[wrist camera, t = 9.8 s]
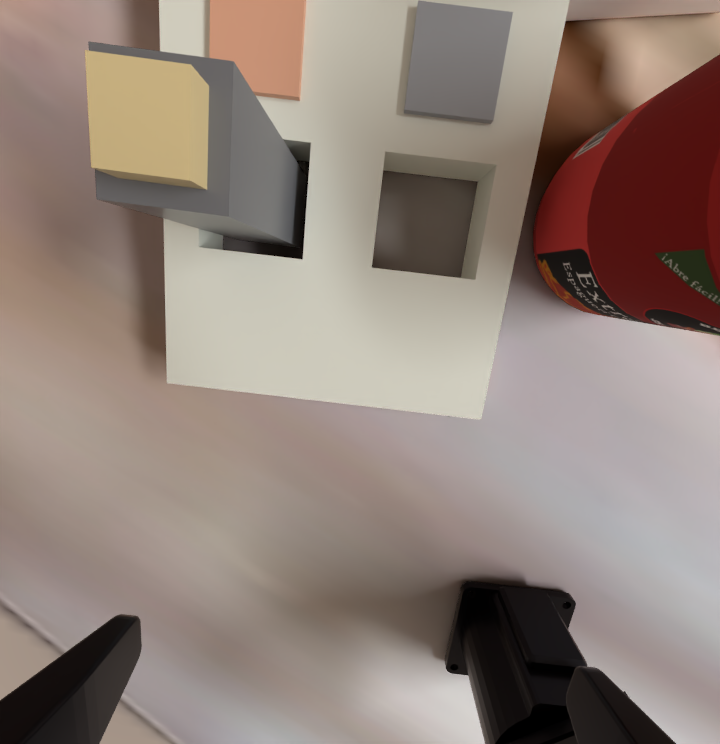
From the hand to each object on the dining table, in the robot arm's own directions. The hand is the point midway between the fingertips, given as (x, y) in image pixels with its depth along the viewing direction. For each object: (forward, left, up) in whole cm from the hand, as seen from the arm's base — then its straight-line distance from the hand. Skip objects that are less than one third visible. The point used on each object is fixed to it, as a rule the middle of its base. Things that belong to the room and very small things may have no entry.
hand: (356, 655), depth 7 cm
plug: (+10, +5, -12) cm, 17 cm away
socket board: (+10, +2, -12) cm, 16 cm away
